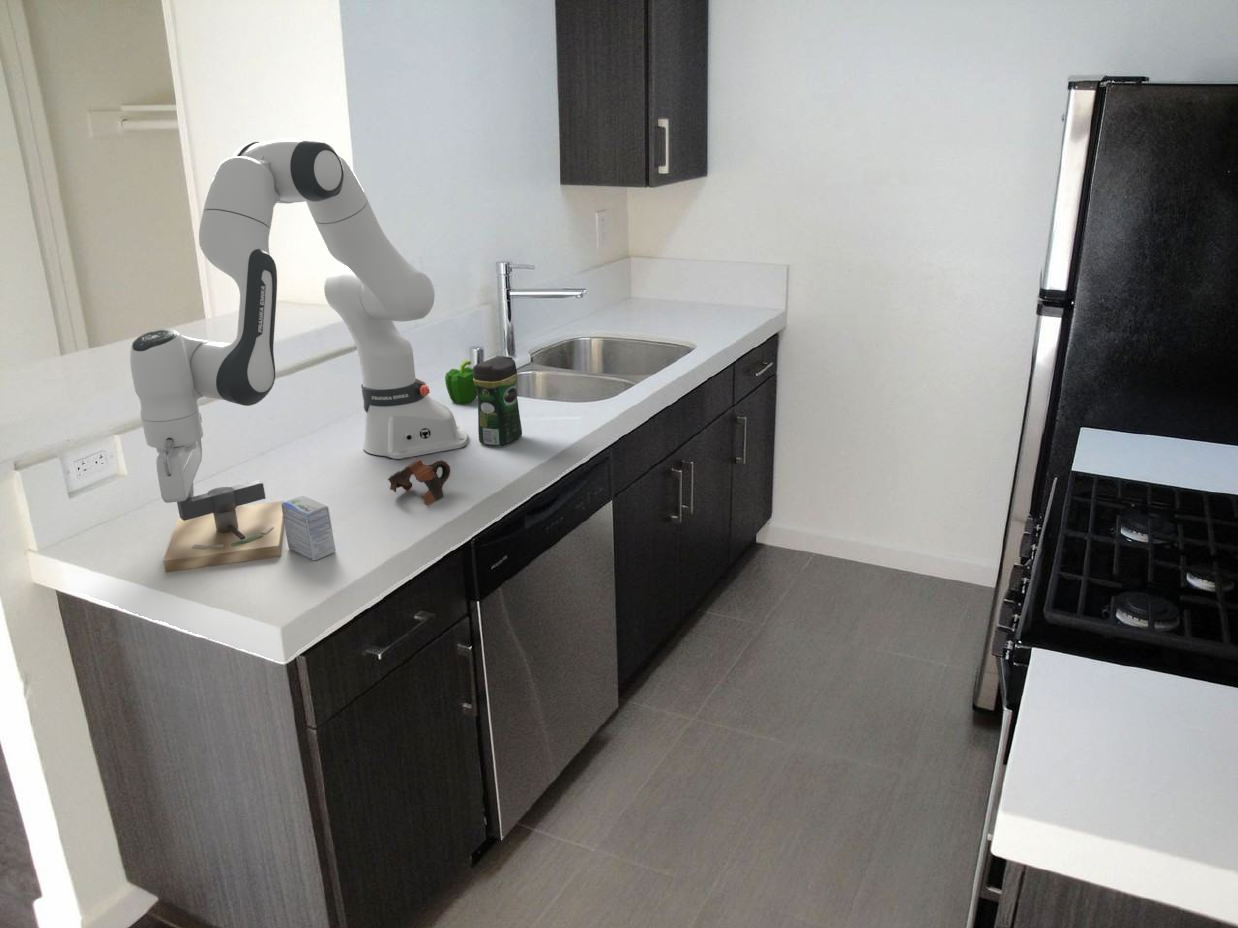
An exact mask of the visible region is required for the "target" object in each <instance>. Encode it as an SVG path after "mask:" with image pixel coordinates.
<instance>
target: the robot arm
mask: <svg viewBox="0 0 1238 928" xmlns="http://www.w3.org/2000/svg"><path fill="white" fill-rule="evenodd" d="M305 202H306V204H307V205H306V206H307V207H308V210H309V213H310V215H311V217H312V218H313V221H314V223H315V225H316V227H317V229H318V231H319V234H320V235H321V237H322V240H323V241H324V244H325V245H326V248H327V250H328V252H329V253H330V255H331V256H332V257H333V258H334V259H335V260H336V261H337V262H339V263H341V264H343V265H340V266H336V267H334V268H333V269H331V270H330V271H329V273H327V277H326V279H325V281H324V288H323V289H324V296H325V299H326V302H327V303H328V305H329V307H331V309H333V310H334V311H335V312H336V313H337V314H338V315H339V316H340V317H341V319H342V320H343V322H344V324H345V325H346V326H347V329H348V330H349V332H350V334H351V336H352V339H353V340H354V341H353V342H354V344H355V348H356V351H357V353H358V359H359V366H360V371H361V379H362V384H361V386H360V388H361V390H360V391H361V400H362V401H361V402H362V407H363V410H364V412H365V432H364V441H363V445H362V446H363V447H362V448H363V450H364V451H365V452H366V453H368V454H371V455H376V456H382V457H388V458H391V459H395V460H400V459H407V458H411V457H412V458H413V457H416V456H423V455H428V454H433V453H438V452H443V451H445V452H446V451H450V450H454V449H455V450H456V449H461V448H463V447H465V446H466V445H467V444H468V443H469V437H468V433H467V431H466V429H465V428H463V427H462V426H460V425H457V421H456V419H455V416H454V414H453V412H452V411H451V410H450V408H448V407H447V406H446V405H444V404H442V403H440V402H439V401H437V400H436V399H434V398H432V397H431V396H429V394H430V393H431V391H430V388H429V386H428V385H427V383H426V382H425V381H424V380H423V379H422V378H420V379H419V378H416V370H415V363H414V360H415V359H414V353H413V352H414V351H413V347H412V344H411V343H410V341H409V340H408V339H407V337H406V336H404V335H403V334H402V333H401V332H400V331H399V330H398V328H397V327H396V325H395V323H394V322H399V323H400V322H411V321H417V320H418V321H419V320H421V319H424V318H425V317H427V315H428V314H429V313H430V312H431V310H432V308H433V306H434V302H435V296H436V295H435V289H434V285H433V282H432V280H431V279H430V277H429V276H428V275H426V274H425V273H424V272H422V271H421V270H419V269H417V268H416V267H414V266H413V265H412V264H410V263H409V261H408V260H407V259H406V258H405V257H404V256H403V255H402V254H401V253H400V252H399V250H397V248H395V247H394V245H393V244H392V243H391V242H390V240H389V239H388V237H387V236H386V235H385V233H384V232H383V229H382V228H381V226H380V222H379V221H378V219H377V217H376V215H375V213H374V211H373V209H372V206H371V203H370V201H369V199H368V197H367V195H366V192H365V190H364V188H363V186H362V185H361V182H360V181H359V179H358V178H357V176H356V174H355V172H354V171H353V170H352V168H351V166H350V165H349V164H348V162H347V161H346V159H345V158H344V157H343V156H342V155H341V154H339V153H337V151H336V150H335V149H334V148H333V147H332V146H331V145H330V144H328V143H326V142H323V141H322V140H321V141H320V140H317V139H311V138H309V139H307V138H306V139H298V138H297V139H296V138H294V139H293V138H279V139H275V140H268V141H253V142H249V143H246V144H244V145H242V146H240V147H238V148H237V150H235V151H234V152H233V154H232V156H231V157H227V158H225V159H224V160H223V161H221V163H220V164H219V166H218V168H217V170H216V172H215V174H214V177H213V179H212V181H211V184H210V186H209V189H208V192H207V196H206V198H205V202H204V207H203V210H202V214H201V219H200V222H199V223H200V224H199V230H198V243H199V247H200V250H201V251H202V254H203V255H204V256H205V258H206V260H208V261H209V262H210V263H211V265H213V266H214V267H215V268H216V269H218V270H219V271H221V272H223V273H224V274H226V275H228V276H229V277H231V279H232V280H234V282H235V283H236V284H237V287H238V291H239V306H238V307H239V309H238V319H237V322H238V323H237V334H236V338H235V340H234V341H233V342H231V343H229V342H220V341H216V340H208V339H202V338H201V339H199V338H193V337H190V336H185V335H183V334H181V333H179V331H177V330H174V329H166V328H165V329H162V328H161V329H157V330H154V331H148V332H146V333H143V334H141V335H139V336H138V337H137V338H136V339H134V341H133V342H132V343H131V347H130V354H129V355H130V356H129V358H130V369H131V377H132V381H133V387H134V390H135V391H134V392H135V394H136V396H137V398H138V400H139V401H140V419H141V423H142V428H143V434H144V437H145V442H146V445H147V446H149V447H151V448H155V450H156V452H157V453H158V455H157V458H156V471H157V473H156V474H157V478H158V486H159V491H160V496H161V499H162V501H163V502H164V503H166V504H168V503H169V504H170V503H177V502H179V501H185V500H186V499H187V498H192V497H194V491H195V490H194V481H195V478H196V476H197V473H198V470H199V468H200V465H201V462H202V460H203V447H202V438H204V434H205V433H204V430H203V429H204V428H203V424H202V423H203V420H202V415H201V411H200V409H199V405H198V403H197V401H198V400H199V399H201V398H203V397H204V398H207V399H213V400H223V401H226V402H229V403H233V404H237V405H241V406H246V407H247V406H248V407H250V406H253V405H256V404H258V403H260V402H261V401H262V400H263V399H265V398H266V396H268V394H269V393H270V392H271V390H272V389H273V387H274V384H275V381H276V364H275V356H274V346H275V345H274V343H275V342H274V341H275V328H276V326H275V325H276V315H277V313H276V311H277V309H276V308H277V297H278V296H277V295H278V271H277V265H276V262H275V260H274V258H273V257H272V256H271V253H270V248H269V247H270V246H269V245H270V244H269V243H270V241H269V239H270V233H271V227H272V222H273V216H274V208H275V205H277V204H294V203H305Z"/></svg>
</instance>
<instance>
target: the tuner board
mask: <svg viewBox="0 0 1238 928" xmlns="http://www.w3.org/2000/svg"><path fill="white" fill-rule="evenodd" d="M284 502H285V500H281V501H272V502H265V503H257V504H249V505H248V504H246V505H240V506H237V507H236V508H235V510H236V516H237V521H238V528H237V530H238V531H239V532H241V533H242V534H243V535H244V536H245V539H243V540H241V539H239V538H238V537H237V536H236V535H235V534H234V533H233V532H231V531H229V532H218V531H217V530H216V525H215V520H214V515H213V513H211V514H208V515H204V516H200V517H197V518H193V519H189V520H186V521H183V520H182V519H181V518H180V515H179V516H178V519H177V521H176V525H175V528H174V530H173V532H172V536H171V539H170V541H169V543H168V546H167V549H166V553H165V555H164V558H163V560H162V561H163V566H164V570H165V573H167V572H174V571H180V570H181V571H182V570H190V569H197V568H203V567H211V566H218V565H219V566H220V565H226V564H233V563H240V562H241V563H242V562H249V561H254V560H255V561H256V560H262V559H272V558H277V557H278V558H279V557H281V555H282V548H283V538H284V532H285V531H284V530H285V524H284V518H283V513H282V506H281V504H282V503H284Z"/></svg>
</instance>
